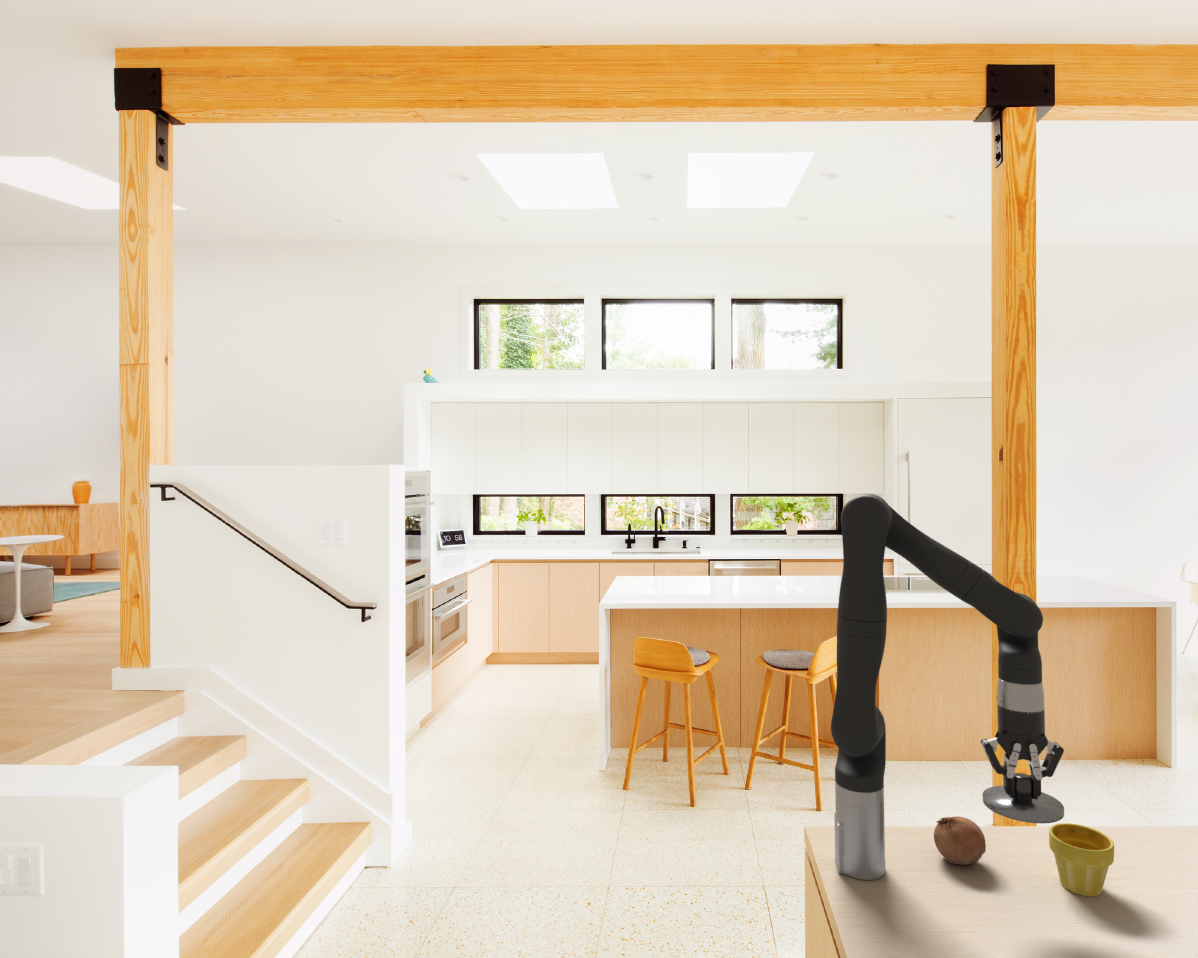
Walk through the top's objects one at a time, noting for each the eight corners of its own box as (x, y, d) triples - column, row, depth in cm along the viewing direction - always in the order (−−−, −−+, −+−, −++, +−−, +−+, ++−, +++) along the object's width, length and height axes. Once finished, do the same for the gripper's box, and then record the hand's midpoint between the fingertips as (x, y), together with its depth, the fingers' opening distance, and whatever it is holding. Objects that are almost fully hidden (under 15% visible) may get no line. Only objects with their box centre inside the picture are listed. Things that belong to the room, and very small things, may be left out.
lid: (994, 820, 130) (994, 789, 130) (974, 788, 142) (973, 760, 142) (1076, 826, 127) (1076, 794, 127) (1048, 793, 139) (1047, 764, 139)
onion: (942, 877, 148) (918, 832, 149) (954, 846, 155) (931, 804, 155) (989, 877, 142) (963, 831, 142) (999, 845, 148) (975, 801, 149)
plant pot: (1125, 905, 133) (1125, 852, 132) (1062, 900, 135) (1062, 847, 134) (1098, 874, 143) (1098, 824, 143) (1040, 869, 145) (1040, 820, 145)
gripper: (984, 708, 132) (987, 803, 132) (1071, 712, 129) (1073, 808, 129) (973, 695, 139) (975, 785, 140) (1055, 698, 136) (1056, 790, 137)
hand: (1022, 796), depth 135 cm, fingers closed on lid, 3 cm apart
